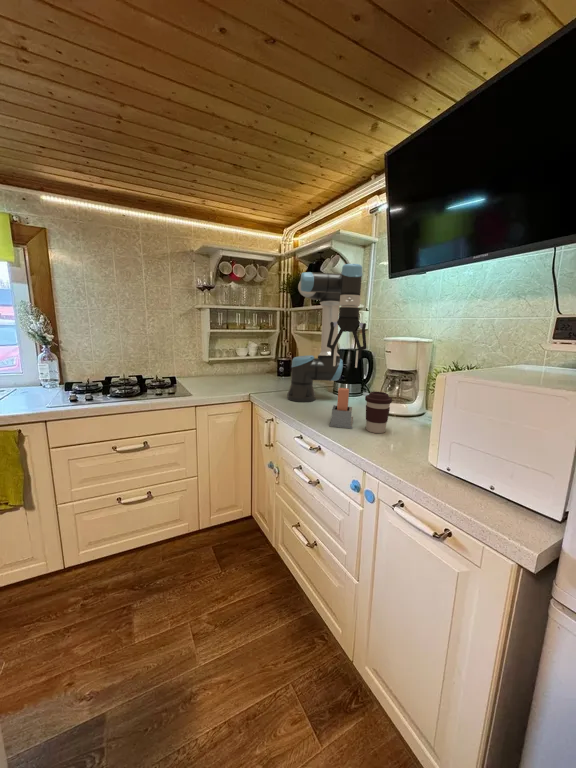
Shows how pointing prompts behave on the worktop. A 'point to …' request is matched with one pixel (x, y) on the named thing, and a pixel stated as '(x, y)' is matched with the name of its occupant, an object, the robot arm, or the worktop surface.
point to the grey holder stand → (341, 418)
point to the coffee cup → (377, 411)
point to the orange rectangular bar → (342, 399)
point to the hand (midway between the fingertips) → (345, 366)
